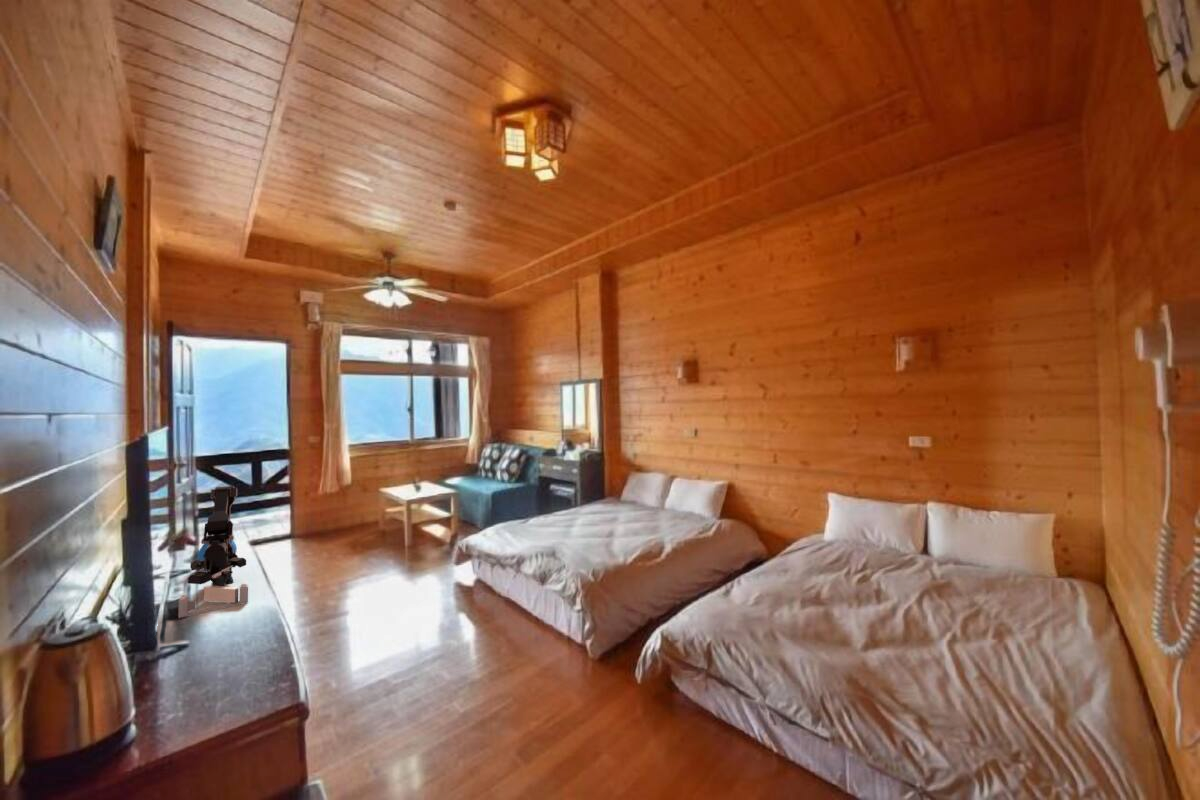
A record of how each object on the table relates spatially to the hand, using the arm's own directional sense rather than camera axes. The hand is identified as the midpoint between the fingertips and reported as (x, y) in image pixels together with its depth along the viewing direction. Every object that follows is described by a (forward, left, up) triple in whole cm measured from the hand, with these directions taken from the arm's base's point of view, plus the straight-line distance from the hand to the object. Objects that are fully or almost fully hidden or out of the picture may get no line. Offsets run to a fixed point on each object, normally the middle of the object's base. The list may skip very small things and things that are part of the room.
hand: (219, 592), depth 178 cm
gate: (+4, +1, -2) cm, 5 cm away
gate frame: (+9, -2, -3) cm, 10 cm away
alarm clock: (-41, +1, -3) cm, 41 cm away
